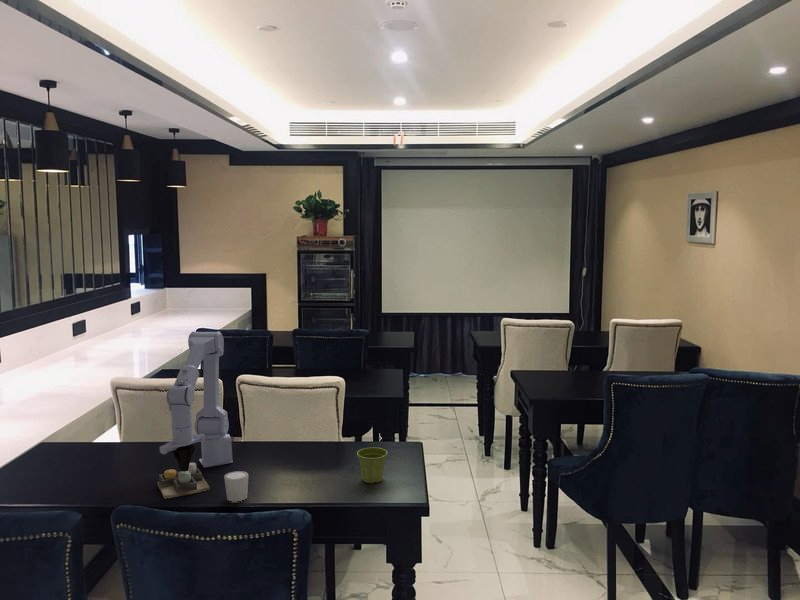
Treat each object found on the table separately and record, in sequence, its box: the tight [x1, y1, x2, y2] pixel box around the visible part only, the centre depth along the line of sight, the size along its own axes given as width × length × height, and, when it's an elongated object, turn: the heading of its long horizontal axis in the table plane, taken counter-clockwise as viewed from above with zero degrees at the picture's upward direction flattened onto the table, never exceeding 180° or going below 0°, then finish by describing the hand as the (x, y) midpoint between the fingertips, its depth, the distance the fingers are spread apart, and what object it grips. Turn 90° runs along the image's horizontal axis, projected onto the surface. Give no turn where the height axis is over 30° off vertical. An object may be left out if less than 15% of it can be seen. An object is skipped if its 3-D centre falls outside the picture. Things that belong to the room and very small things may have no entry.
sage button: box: [179, 471, 191, 485], centre depth 205 cm, size 3×3×3 cm
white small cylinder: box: [188, 462, 197, 475], centre depth 212 cm, size 3×3×3 cm
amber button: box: [163, 468, 177, 480], centre depth 209 cm, size 3×3×3 cm
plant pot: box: [356, 447, 388, 484], centre depth 211 cm, size 9×9×9 cm
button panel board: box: [156, 467, 211, 500], centre depth 208 cm, size 13×12×3 cm
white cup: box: [223, 470, 249, 503], centre depth 199 cm, size 7×7×7 cm
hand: (184, 470), depth 204 cm, fingers closed
